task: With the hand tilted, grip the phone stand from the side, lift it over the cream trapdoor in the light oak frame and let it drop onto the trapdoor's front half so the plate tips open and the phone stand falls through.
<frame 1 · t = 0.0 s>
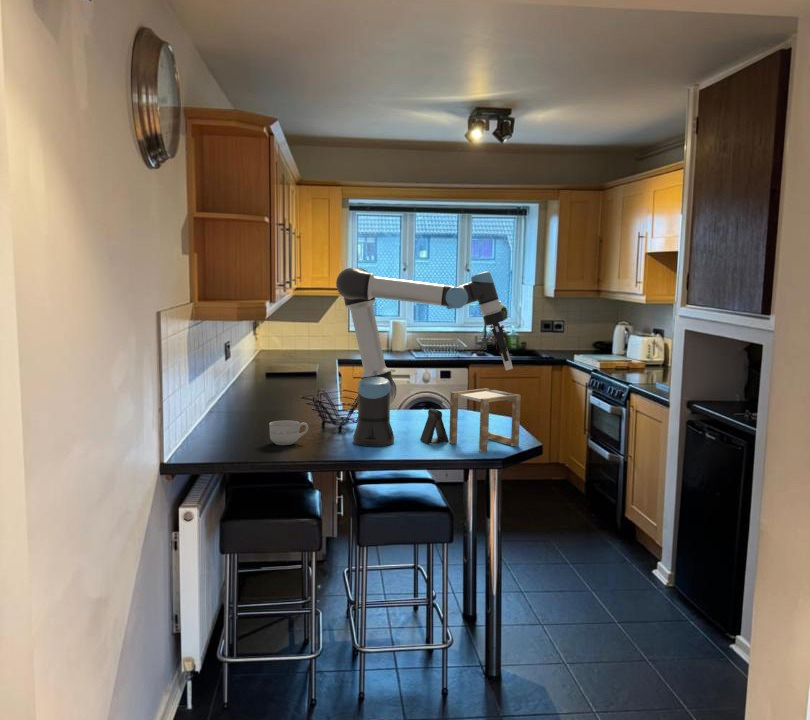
hand: (509, 367, 270), 28 cm above the breakfast bar, tool tilted 20°, fingers open, 13 cm apart
phone stand: (434, 441, 269), on the breakfast bar
teacup: (288, 444, 261), on the breakfast bar
trapdoor frame: (483, 444, 265), on the breakfast bar
trapdoor: (488, 397, 264), point 17 cm above the breakfast bar, hinge at -1.2°
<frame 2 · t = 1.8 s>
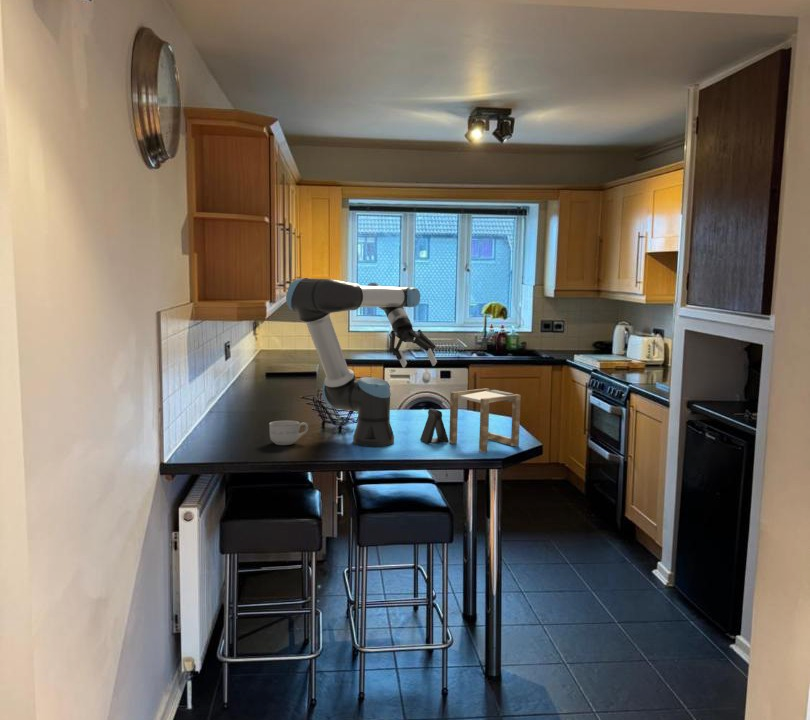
hand: (420, 364, 274), 28 cm above the breakfast bar, tool tilted 45°, fingers open, 13 cm apart
trapdoor: (488, 398, 264), point 17 cm above the breakfast bar, hinge at -2.8°
everything else where it was.
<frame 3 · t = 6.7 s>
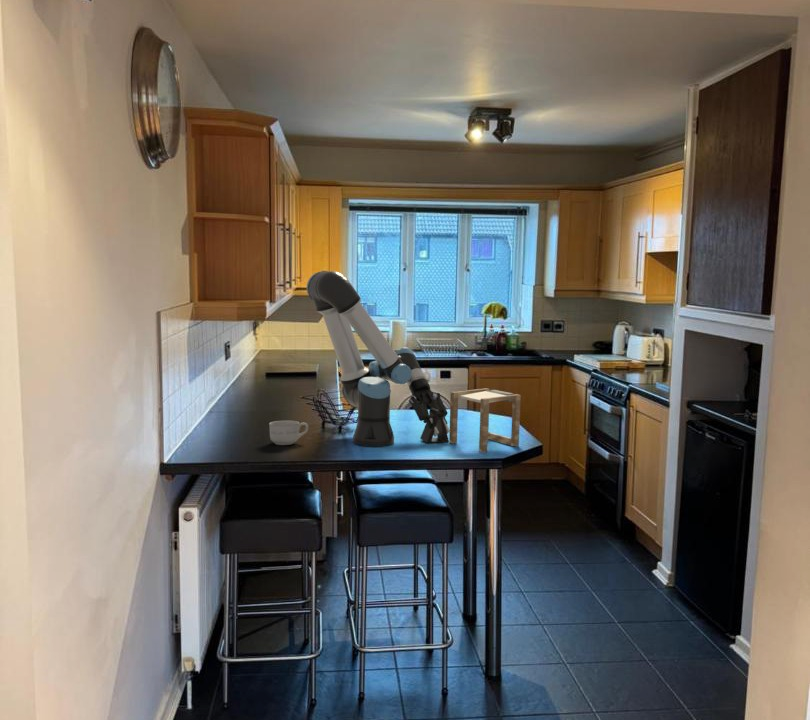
hand: (442, 433, 266), 3 cm above the breakfast bar, tool tilted 45°, fingers open, 4 cm apart
nothing on the breakfast bar moved.
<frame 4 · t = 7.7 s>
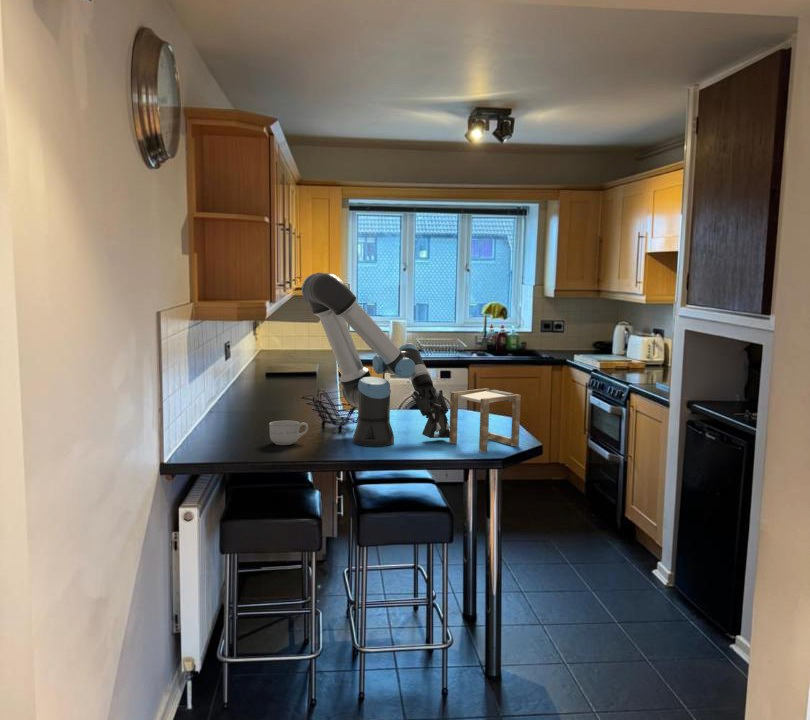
hand: (442, 429, 265), 5 cm above the breakfast bar, tool tilted 45°, fingers closed on phone stand, 3 cm apart
phone stand: (436, 436, 268), point 2 cm above the breakfast bar, touching gripper
everything else where it was.
when the fingers open (25 cm above the breakfast bar, at t = 11.6 s): phone stand drops 5 cm, resting on trapdoor.
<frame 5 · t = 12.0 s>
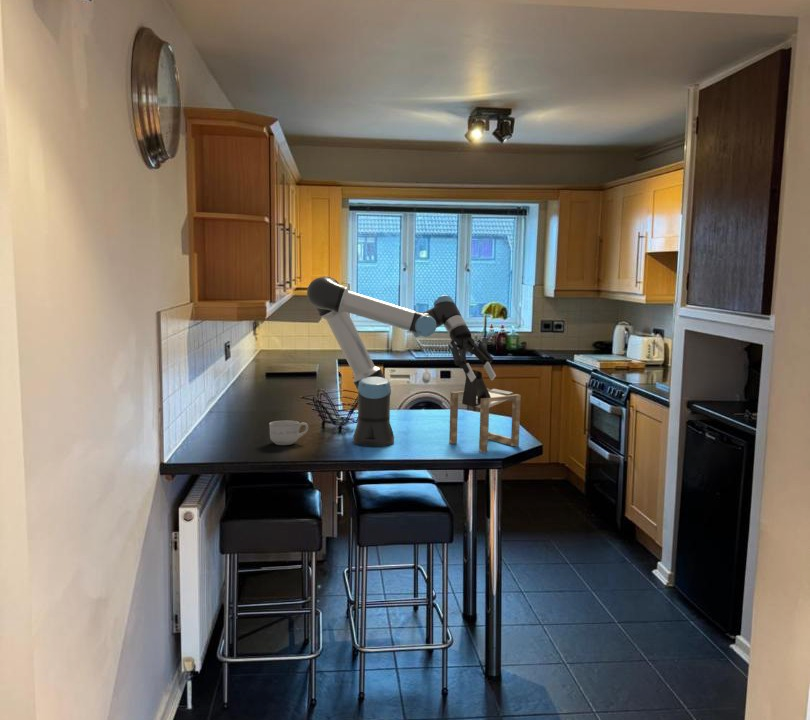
hand: (483, 378, 257), 25 cm above the breakfast bar, tool tilted 45°, fingers open, 8 cm apart
phone stand: (477, 402, 260), point 16 cm above the breakfast bar, touching trapdoor
trapdoor: (488, 400, 264), point 16 cm above the breakfast bar, hinge at -11.7°, touching phone stand
everything else where it was.
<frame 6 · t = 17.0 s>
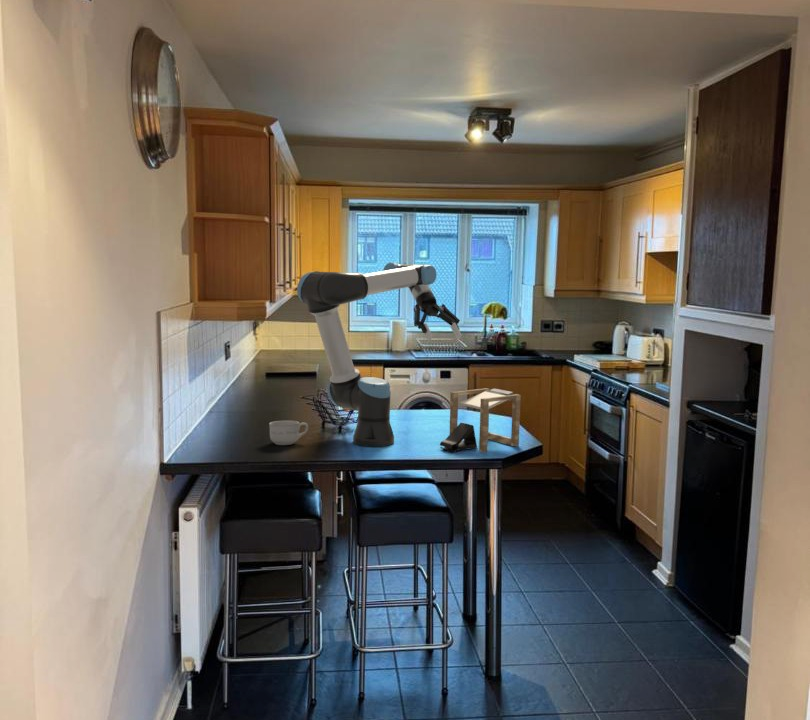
hand: (445, 338, 275), 38 cm above the breakfast bar, tool tilted 45°, fingers open, 13 cm apart
phone stand: (469, 434, 260), point 5 cm above the breakfast bar
trapdoor: (488, 400, 264), point 16 cm above the breakfast bar, hinge at -14.1°
everything else where it was.
at the end: phone stand point 4.5 cm above the breakfast bar; the gripper is holding nothing; phone stand 6.9 cm from the trapdoor frame (horizontally) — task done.
